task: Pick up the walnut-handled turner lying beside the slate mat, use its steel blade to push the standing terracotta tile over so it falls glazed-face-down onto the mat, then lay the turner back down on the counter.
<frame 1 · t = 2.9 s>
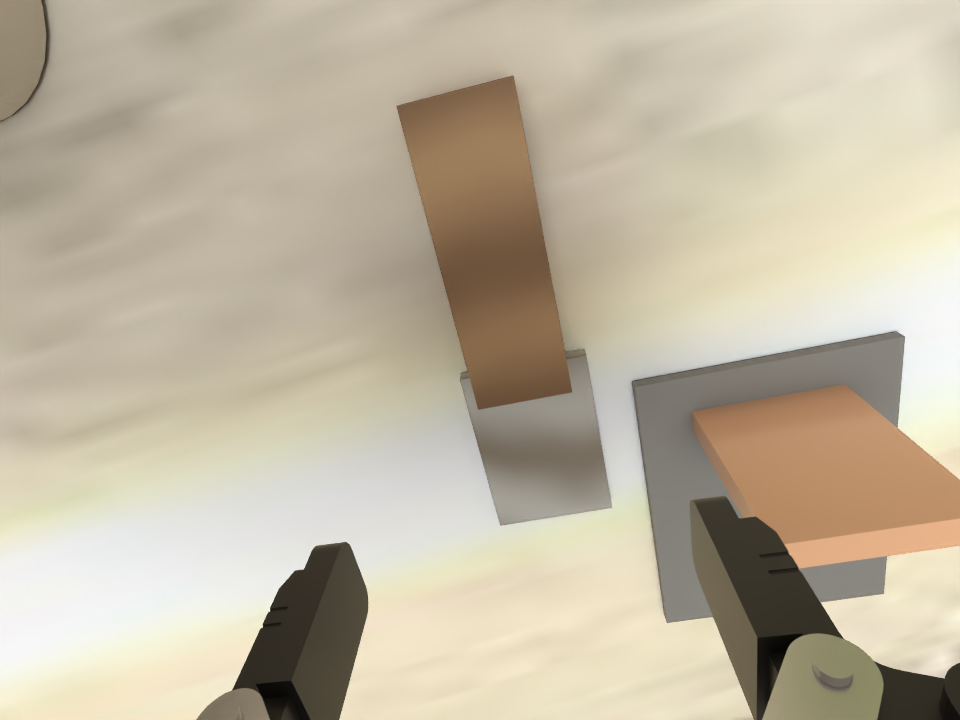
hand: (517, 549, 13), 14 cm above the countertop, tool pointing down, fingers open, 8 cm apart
turner: (494, 239, 25), on the countertop
slate mat: (764, 491, 30), on the countertop
tile: (767, 408, 27), point 1 cm above the countertop, touching slate mat
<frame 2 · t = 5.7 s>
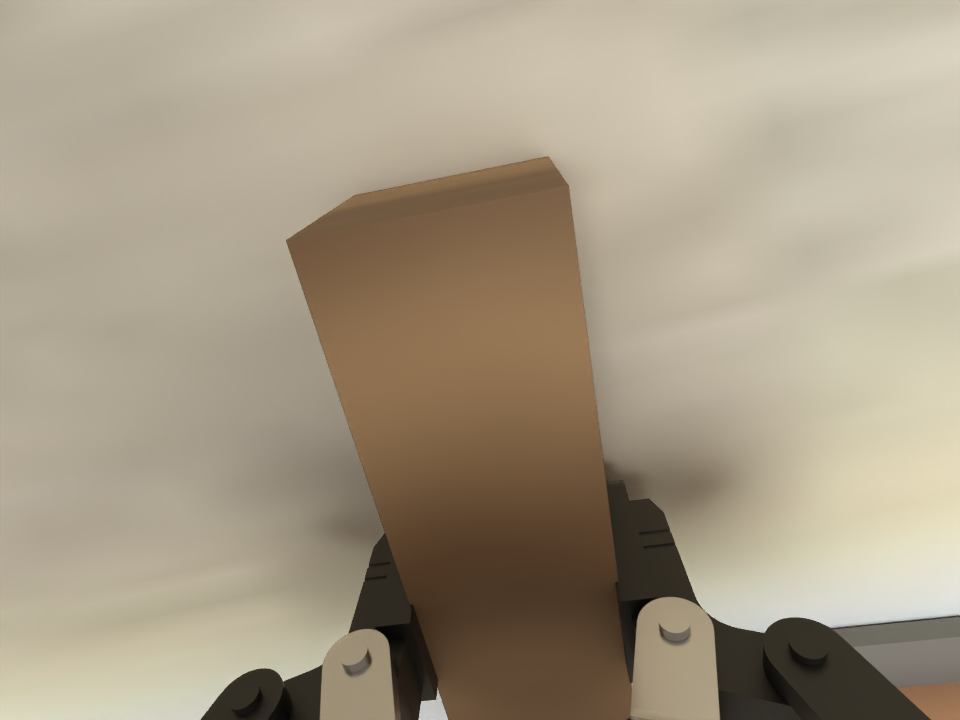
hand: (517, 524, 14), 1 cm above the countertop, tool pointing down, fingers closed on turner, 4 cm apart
turner: (501, 427, 14), on the countertop, touching gripper
tile: (943, 697, 16), point 1 cm above the countertop, touching slate mat
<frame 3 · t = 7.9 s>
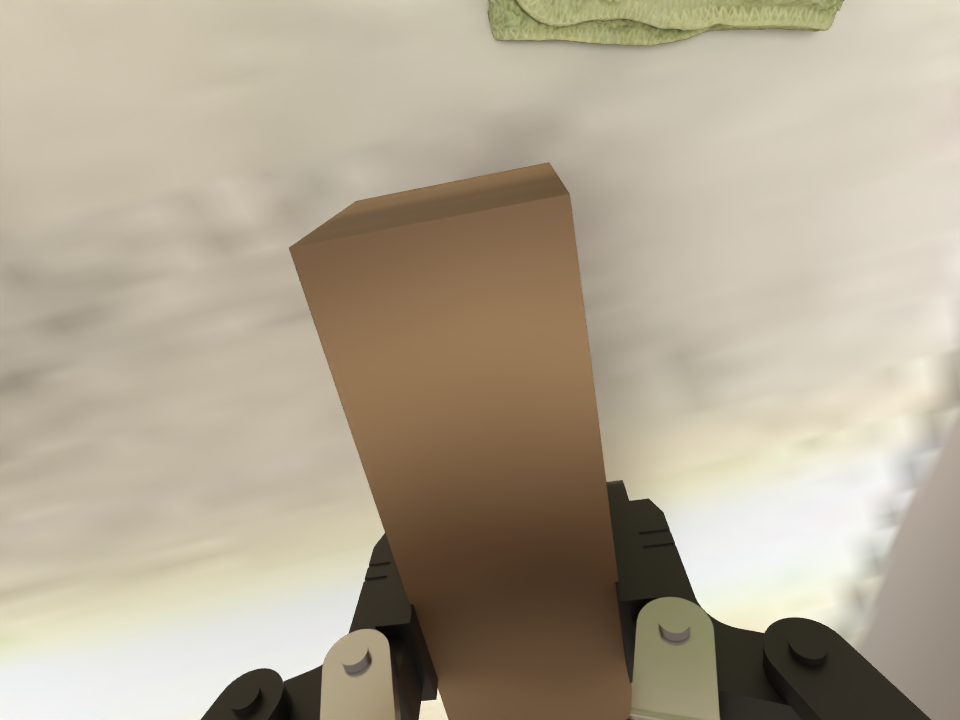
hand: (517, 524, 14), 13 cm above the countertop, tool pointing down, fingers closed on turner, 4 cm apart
turner: (502, 431, 14), point 12 cm above the countertop, touching gripper
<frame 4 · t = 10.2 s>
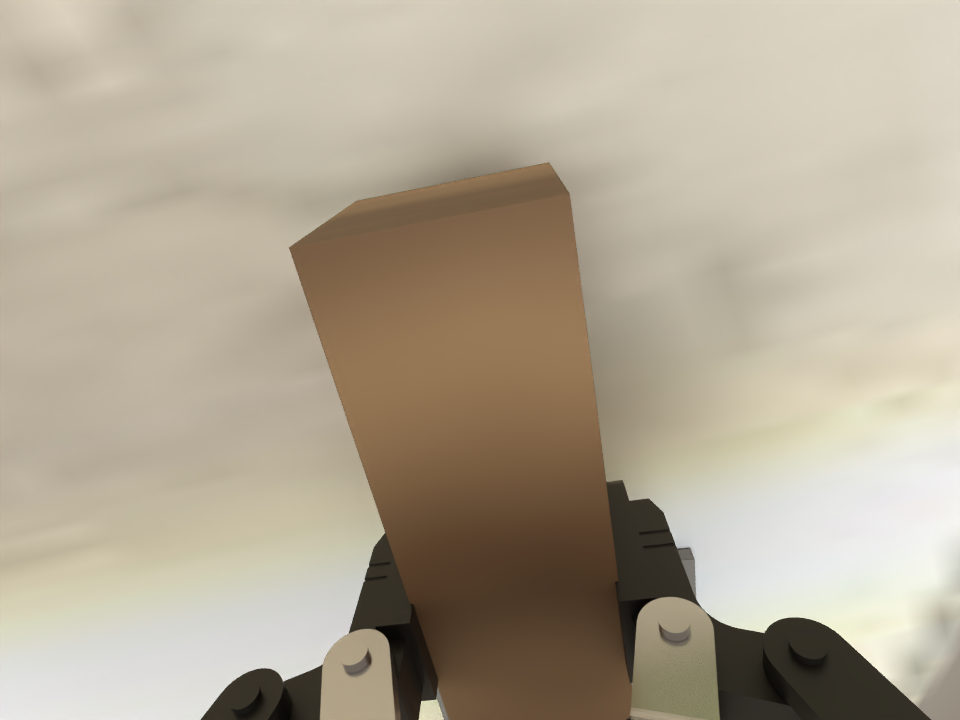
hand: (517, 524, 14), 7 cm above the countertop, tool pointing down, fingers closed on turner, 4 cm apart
turner: (502, 431, 14), point 6 cm above the countertop, touching gripper
slate mat: (566, 690, 27), on the countertop
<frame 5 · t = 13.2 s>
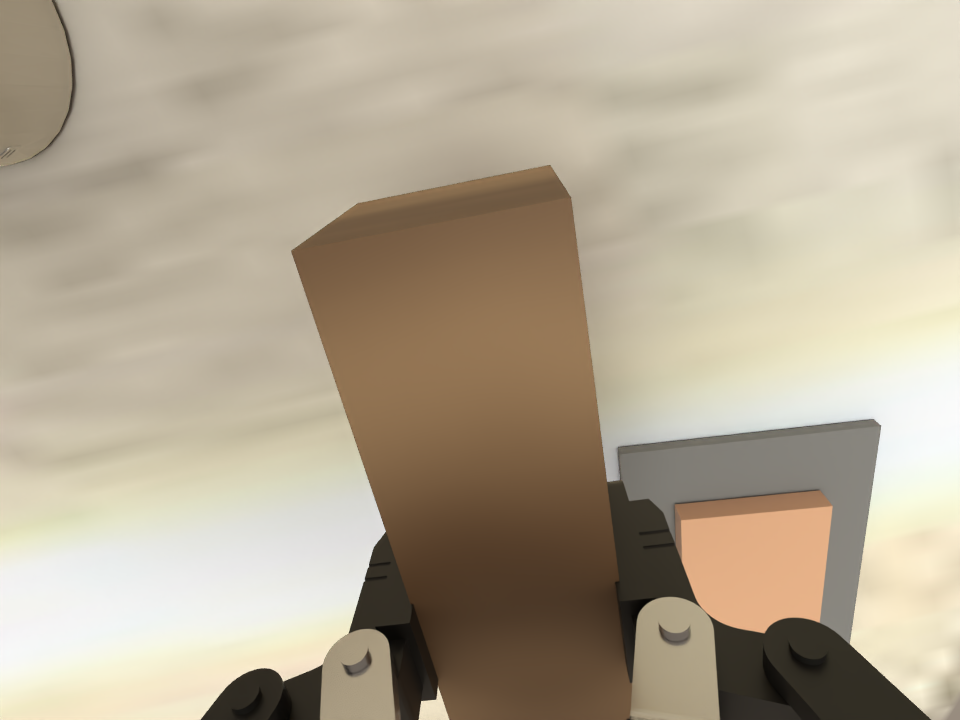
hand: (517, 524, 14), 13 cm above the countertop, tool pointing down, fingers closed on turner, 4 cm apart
turner: (503, 433, 14), point 12 cm above the countertop, touching gripper
slate mat: (739, 558, 31), on the countertop
tile: (751, 505, 28), point 1 cm above the countertop, tilted 90°, touching slate mat
when the fingers open (1 cm above the countertop, at t = 15.9 s): turner stays where it is, on the countertop.
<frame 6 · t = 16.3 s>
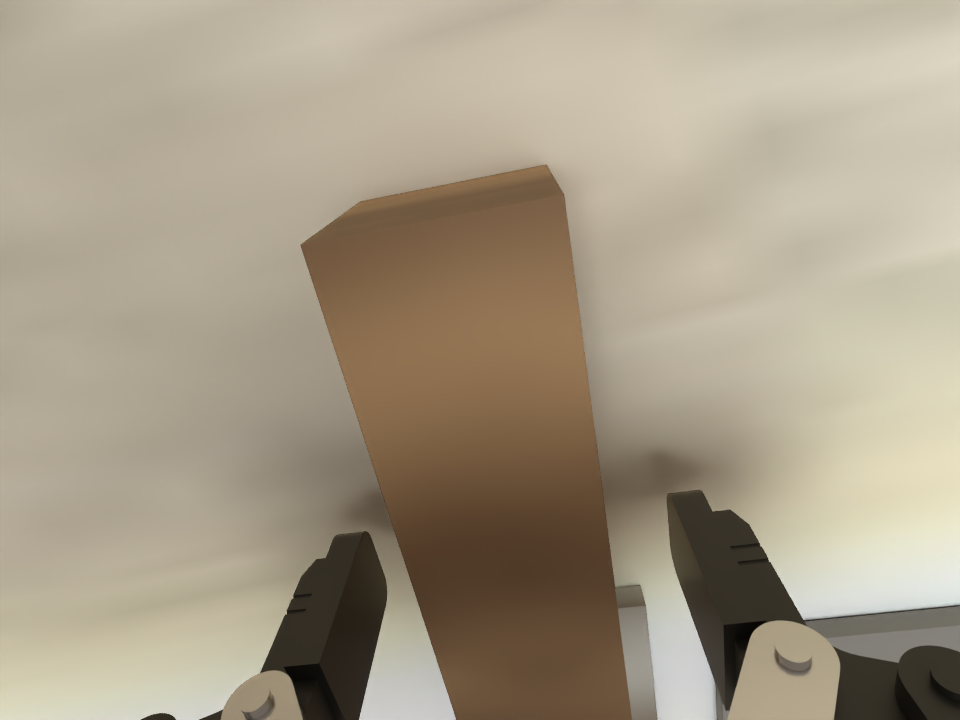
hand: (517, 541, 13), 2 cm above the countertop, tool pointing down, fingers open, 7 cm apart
turner: (501, 423, 14), on the countertop
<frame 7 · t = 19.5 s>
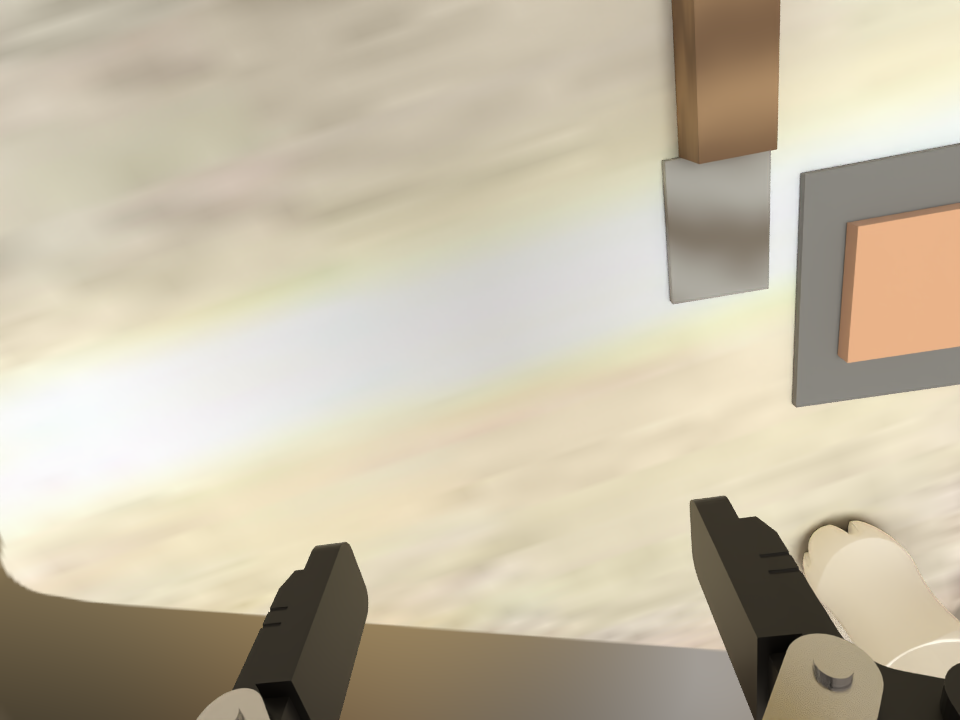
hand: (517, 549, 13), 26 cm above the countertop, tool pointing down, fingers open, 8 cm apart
turner: (710, 37, 31), on the countertop
water bottle: (837, 543, 46), on the countertop
slate mat: (893, 282, 36), on the countertop
tile: (915, 213, 33), point 1 cm above the countertop, tilted 90°, touching slate mat
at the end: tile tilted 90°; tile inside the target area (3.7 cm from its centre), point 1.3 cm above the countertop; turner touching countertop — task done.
